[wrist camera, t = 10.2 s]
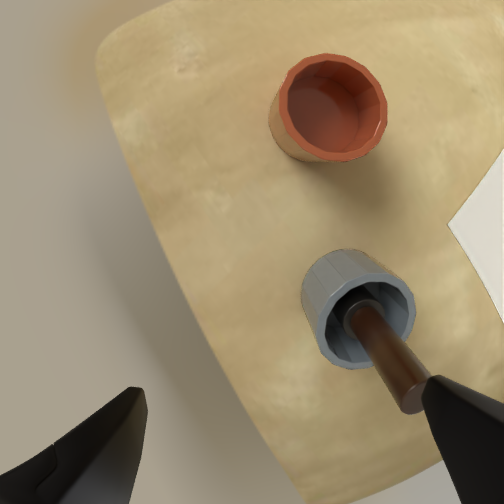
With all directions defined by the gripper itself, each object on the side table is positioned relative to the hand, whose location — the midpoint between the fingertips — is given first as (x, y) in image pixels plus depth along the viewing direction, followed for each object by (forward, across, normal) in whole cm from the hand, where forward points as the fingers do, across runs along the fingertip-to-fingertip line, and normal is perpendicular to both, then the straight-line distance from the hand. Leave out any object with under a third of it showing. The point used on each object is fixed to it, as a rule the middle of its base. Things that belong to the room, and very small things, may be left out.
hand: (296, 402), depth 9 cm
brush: (+12, -6, +2) cm, 13 cm away
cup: (+12, -6, +2) cm, 14 cm away
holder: (+12, -3, -10) cm, 16 cm away
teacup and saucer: (+12, -28, -5) cm, 31 cm away
